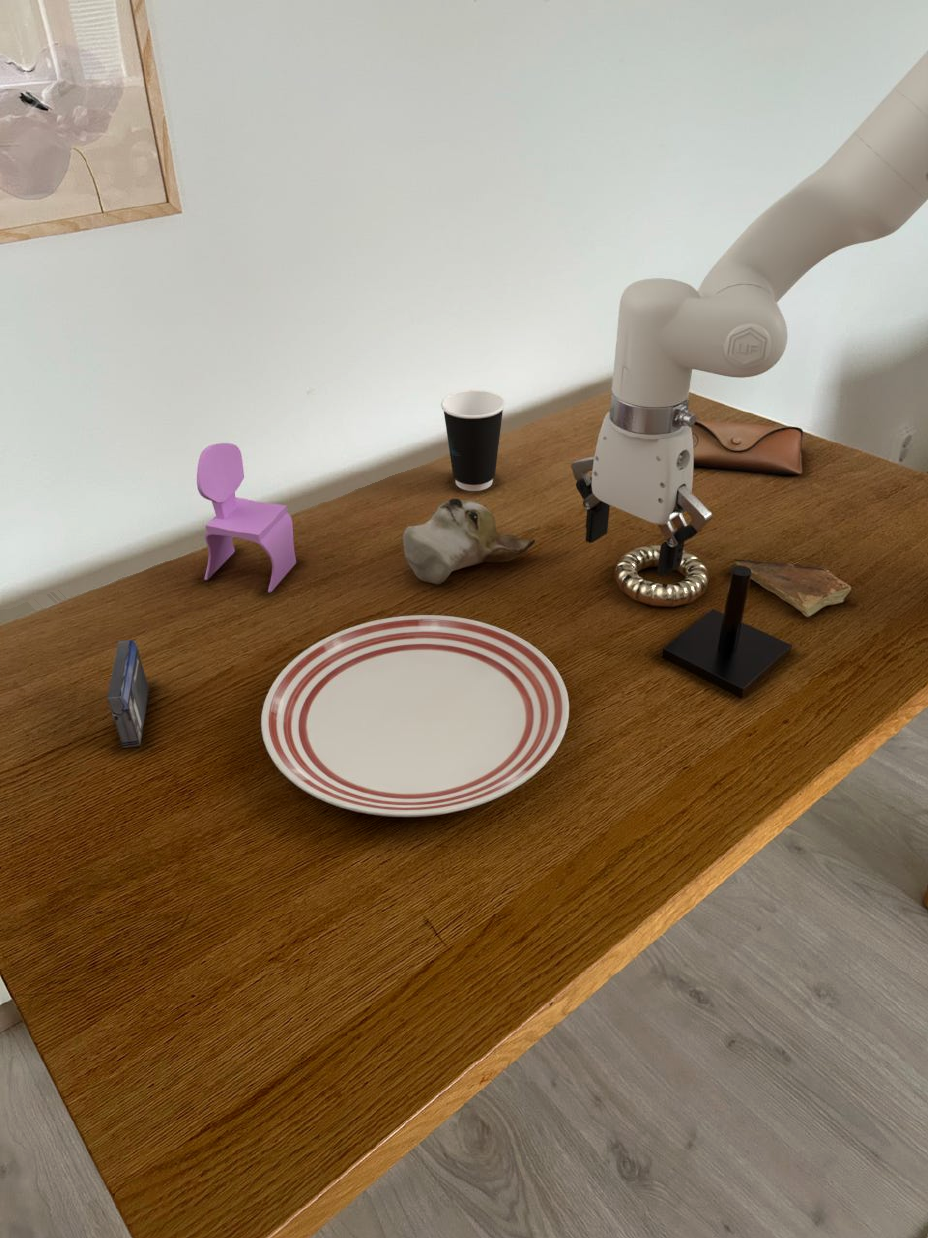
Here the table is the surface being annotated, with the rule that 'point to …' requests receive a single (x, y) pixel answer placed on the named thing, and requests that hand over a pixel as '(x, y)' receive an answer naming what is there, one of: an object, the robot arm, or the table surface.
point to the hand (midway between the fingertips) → (631, 553)
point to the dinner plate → (415, 716)
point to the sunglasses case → (747, 447)
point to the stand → (728, 644)
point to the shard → (798, 584)
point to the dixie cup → (473, 436)
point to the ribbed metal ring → (660, 592)
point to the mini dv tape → (128, 694)
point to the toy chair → (241, 514)
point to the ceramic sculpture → (458, 541)
